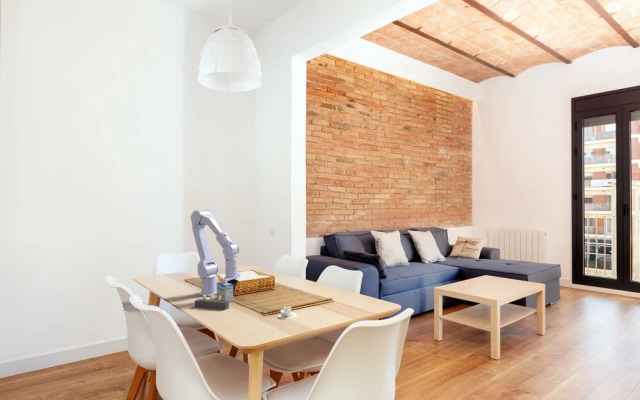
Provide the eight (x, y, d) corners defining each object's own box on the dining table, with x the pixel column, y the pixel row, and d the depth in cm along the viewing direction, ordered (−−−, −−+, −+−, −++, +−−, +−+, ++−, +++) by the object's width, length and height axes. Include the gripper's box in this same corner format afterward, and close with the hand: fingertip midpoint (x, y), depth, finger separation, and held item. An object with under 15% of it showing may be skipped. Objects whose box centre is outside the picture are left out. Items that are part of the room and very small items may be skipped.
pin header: (198, 305, 181) (198, 293, 180) (229, 307, 176) (228, 295, 176) (194, 307, 178) (194, 295, 178) (225, 309, 173) (225, 297, 173)
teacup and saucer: (279, 313, 169) (279, 304, 169) (297, 313, 168) (297, 304, 168) (276, 319, 160) (276, 310, 160) (295, 319, 160) (295, 310, 160)
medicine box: (216, 300, 189) (216, 282, 189) (224, 298, 192) (224, 281, 192) (225, 303, 184) (225, 285, 183) (233, 301, 187) (233, 283, 187)
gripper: (231, 270, 186) (231, 298, 186) (245, 265, 200) (245, 291, 200) (218, 270, 188) (218, 297, 188) (233, 264, 202) (233, 290, 202)
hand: (231, 294), depth 194 cm, fingers closed
